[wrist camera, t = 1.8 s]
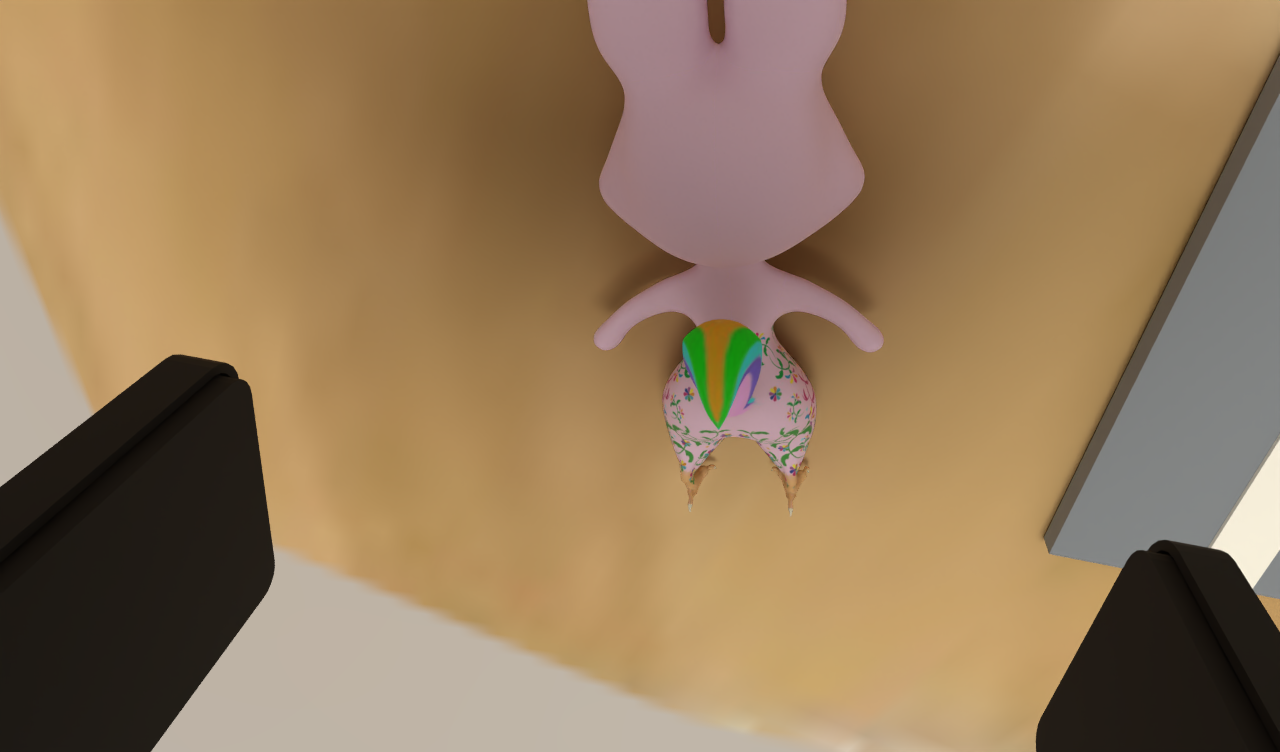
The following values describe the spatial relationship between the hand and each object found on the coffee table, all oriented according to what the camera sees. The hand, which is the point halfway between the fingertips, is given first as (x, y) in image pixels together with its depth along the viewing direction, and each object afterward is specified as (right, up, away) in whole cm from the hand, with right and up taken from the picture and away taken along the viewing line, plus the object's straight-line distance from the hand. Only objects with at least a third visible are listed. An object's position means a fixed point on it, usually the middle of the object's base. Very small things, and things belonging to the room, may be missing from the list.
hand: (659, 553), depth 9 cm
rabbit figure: (+2, +6, +10) cm, 12 cm away
